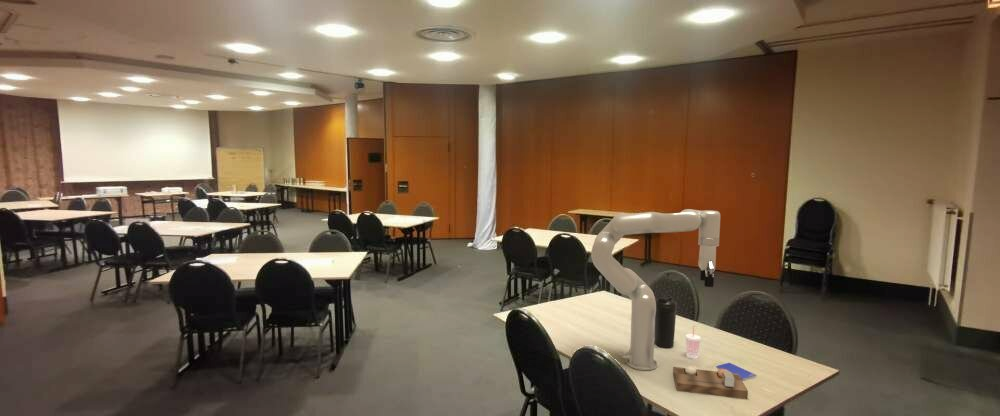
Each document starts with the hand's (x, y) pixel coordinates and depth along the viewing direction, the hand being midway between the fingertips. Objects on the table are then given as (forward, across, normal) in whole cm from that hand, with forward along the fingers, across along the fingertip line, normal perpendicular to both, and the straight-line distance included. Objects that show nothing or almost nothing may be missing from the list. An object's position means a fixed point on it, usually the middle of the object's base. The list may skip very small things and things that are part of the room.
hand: (706, 283), depth 185 cm
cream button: (+35, +9, -6) cm, 36 cm away
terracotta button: (+35, +10, +6) cm, 36 cm away
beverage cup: (+37, -14, -2) cm, 40 cm away
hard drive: (+38, -2, +13) cm, 40 cm away
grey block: (+33, +16, +6) cm, 38 cm away
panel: (+37, +13, 0) cm, 39 cm away
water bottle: (+37, -24, -13) cm, 46 cm away
